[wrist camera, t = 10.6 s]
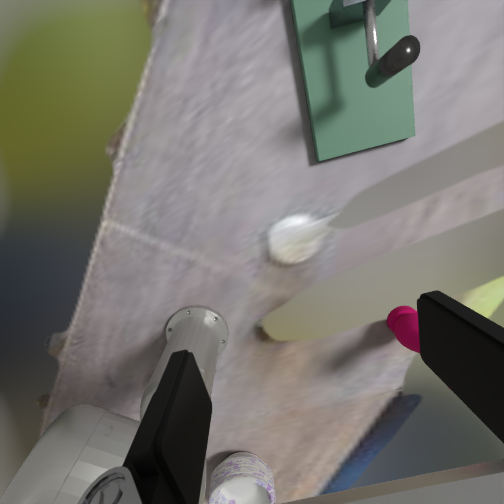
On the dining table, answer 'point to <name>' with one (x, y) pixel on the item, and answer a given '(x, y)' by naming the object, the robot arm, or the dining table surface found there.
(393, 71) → the grey mallet
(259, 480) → the paper bowls
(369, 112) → the pitch board
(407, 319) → the pepper mill
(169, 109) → the dining table surface
